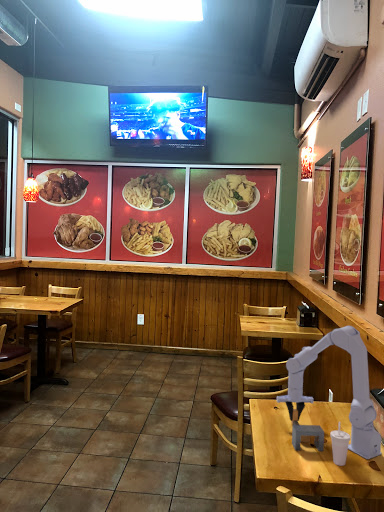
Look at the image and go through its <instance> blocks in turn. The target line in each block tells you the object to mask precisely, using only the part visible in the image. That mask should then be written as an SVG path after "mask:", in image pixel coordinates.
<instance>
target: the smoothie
mask: <svg viewBox="0 0 384 512" xmlns="http://www.w3.org/2000/svg"><path fill="white" fill-rule="evenodd" d="M329 436H330V438H331V447H332V450H331V451H332V459H333V463H334V464H335V466H336V465H337V466H345V465H346V462H347V457H348V455H347V454H348V450H349V449H348V445H349V443H350V442H351V434H349V433H347V432H345V431H344V430H341V421H338V429H337V430H336V429H335V430H331V431H330V435H329Z"/></svg>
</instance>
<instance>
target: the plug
mask: <svg viewBox="0 0 384 512" xmlns="http://www.w3.org/2000/svg"><path fill="white" fill-rule="evenodd" d="M290 422H291V425H300V423H299V421H298V410H297V409H296V408H293V420H292V421H291V420H290ZM310 442H311V436H302V435H301V443H310Z"/></svg>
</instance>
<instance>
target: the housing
mask: <svg viewBox="0 0 384 512" xmlns="http://www.w3.org/2000/svg"><path fill="white" fill-rule="evenodd" d="M291 425H292V424H291ZM291 433H292V434H291V445H292V447H293V449H294V451H299V452H300V451H301V443H302V442H301V435H302V436H310V437H312V436H313V437H314V438H313V439H314V441H313V442H314V443H313V444H314V446H315V447H316V449H317V451H318V452H324V446H325V443H324V442H325V431H324V429H323V428H322V427H321V425H319V424H318V425H317V424H316V425H315V424H313V425H311V424H308V425H307V424H299V425H292V431H291Z"/></svg>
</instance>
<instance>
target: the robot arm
mask: <svg viewBox="0 0 384 512" xmlns="http://www.w3.org/2000/svg"><path fill="white" fill-rule="evenodd" d="M334 345H335V346H336V347H338V348H341V349H342V350H344V351H346V352H347V353H348V354H350V357H351V376H352V395H353V399H352V402H351V403H350V412H349V414H348V420H349V423H350V424H351V429H350V430H351V432H350V444H349V445H348V450H350V451H352V453H355V454H357V455H358V456H361V457H362V458H364V459H366V460H369V459H372V458H375V457H377V456H378V457H379V456H381V455H382V451H381V448H382V444H381V443H382V435H381V433H380V432H378V431H377V430H376V429H375V427H374V422H375V420H376V419H377V416H378V415H377V413H378V412H377V410H376V408H375V405H374V401H373V400H372V399H371V398H370V383H369V381H370V379H369V362H368V349H367V347H366V345H365V343H364V341H363V339H362V338H361V333H360V331H359V330H357V328H355V327H354V326H352V325H345V326H343V327H340V328H334V329H333V330H332V331H330V332H328V333H326V335H324V336H323V337H322V338H320V339H319V340H318V341H317V342H316V343H315V344H314V345H312V346H303V347H302V348H301V350H300V352H298V353H295V354H294V357H289V358H288V360H287V361H286V364H285V368H286V370H287V371H288V380H287V386H288V387H287V394H286V395H279V396H278V395H277V396H276V403H279V404H280V403H285V405H286V409H287V411H288V416H289V420H290V422H291V421H292V420H293V409H294V407H295V409H297V410H298V422H299V421H300V418H301V415H302V412H303V411H304V410H305V407H306V404H307V403H308V404H314V398H313V396H307V395H306V396H305V395H303V393H304V392H303V389H304V388H303V387H304V386H303V385H304V384H303V383H304V372H305V370H306V369H307V367H308V366H309V365H310V364H312V363H314V361H316V360H317V359H318V354H319V353H321V352H323V351H324V350H325V349H326V348H327V349H328V347H329V346H334ZM293 403H295V406H294V404H293ZM305 403H306V404H305Z"/></svg>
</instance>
